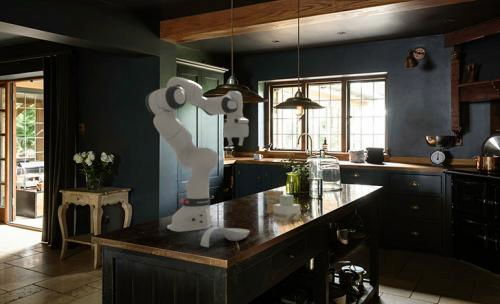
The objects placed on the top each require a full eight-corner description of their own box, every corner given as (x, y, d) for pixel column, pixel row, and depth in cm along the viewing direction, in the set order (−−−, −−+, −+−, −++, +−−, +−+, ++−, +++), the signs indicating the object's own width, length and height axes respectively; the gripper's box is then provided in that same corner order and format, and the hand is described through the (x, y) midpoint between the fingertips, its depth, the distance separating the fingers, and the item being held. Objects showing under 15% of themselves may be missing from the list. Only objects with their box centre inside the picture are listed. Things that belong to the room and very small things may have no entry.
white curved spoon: (235, 234, 188) (235, 218, 188) (255, 238, 180) (254, 222, 180) (195, 245, 171) (194, 227, 171) (214, 250, 163) (213, 232, 162)
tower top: (286, 214, 213) (286, 207, 213) (273, 212, 220) (273, 204, 220) (300, 212, 219) (300, 204, 219) (286, 210, 227) (286, 202, 227)
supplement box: (267, 213, 236) (266, 190, 236) (270, 212, 241) (270, 189, 240) (280, 214, 232) (280, 191, 232) (283, 213, 237) (283, 190, 236)
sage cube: (286, 206, 216) (286, 196, 216) (280, 204, 220) (280, 195, 220) (293, 204, 219) (293, 195, 219) (287, 203, 223) (287, 194, 223)
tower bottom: (286, 222, 213) (286, 214, 213) (273, 219, 221) (273, 212, 221) (300, 220, 219) (300, 212, 219) (287, 217, 227) (287, 210, 227)
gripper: (220, 121, 237) (220, 145, 238) (240, 119, 221) (241, 145, 221) (229, 121, 241) (229, 145, 241) (250, 119, 224) (250, 145, 225)
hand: (235, 145), depth 231 cm, fingers open, 8 cm apart
